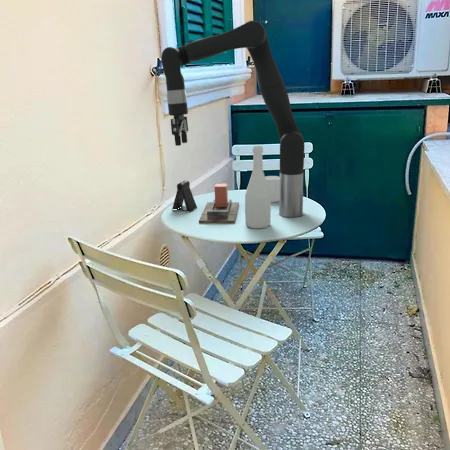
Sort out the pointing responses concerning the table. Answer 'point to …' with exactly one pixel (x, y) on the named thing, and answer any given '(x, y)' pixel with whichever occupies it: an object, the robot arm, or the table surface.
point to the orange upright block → (221, 195)
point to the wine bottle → (257, 195)
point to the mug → (273, 187)
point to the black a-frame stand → (184, 197)
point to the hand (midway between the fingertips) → (181, 144)
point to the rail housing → (219, 213)
